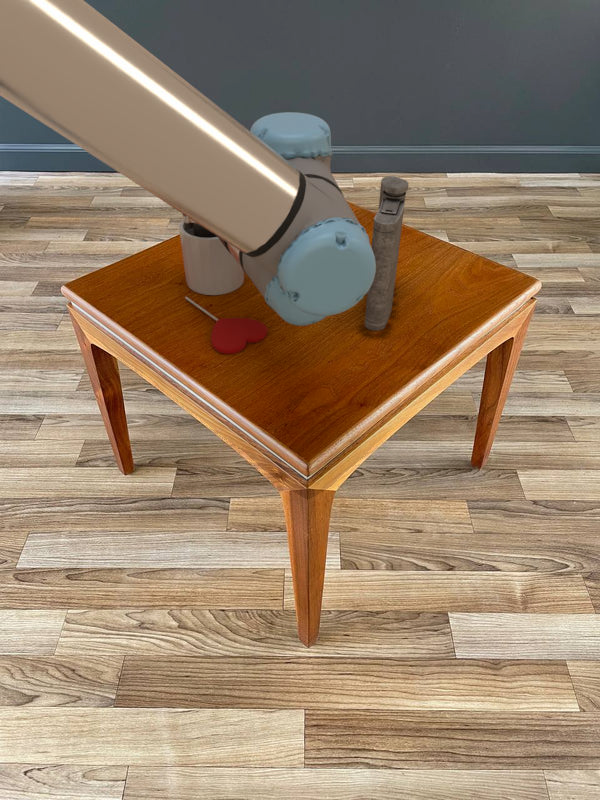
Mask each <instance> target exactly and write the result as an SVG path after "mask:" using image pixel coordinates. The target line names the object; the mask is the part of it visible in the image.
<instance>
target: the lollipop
mask: <svg viewBox="0 0 600 800" xmlns="http://www.w3.org/2000/svg"><path fill="white" fill-rule="evenodd" d="M184 299H185V301H187V302H189V303H190V304H192V305H193V306H194V307H196V308H197V309H199V310H200V311H201V312H203V313H204V314H206V315H208V317H209V318H212V320H214V321H216V322H215V323H214V325H213V328H212V330H211V333H210V342H211V347H213V349H214V350H215V351H216V352H217V353H220V354H222V355H235V354H238V353H240V352H242V351H244V350H245V348H246V346H247V344H256V343H259V342H261V341H263V340H264V339H265V338H266V337H267V335H268V332H269V331H268V327H267V326H266V325H265V324H264V323H263V322H262V321H260V320H257V319H253V318H247V317H225V318H224V317H223V318H217V317H216V316H215V315H213V314H212V313H210V312H209V311H208V310H206V309H205V308H204V307H202V306H200V305H199V304H198V303H196V302H195V301H194V300H192V299H191V298H189V296H185V297H184Z"/></svg>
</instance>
